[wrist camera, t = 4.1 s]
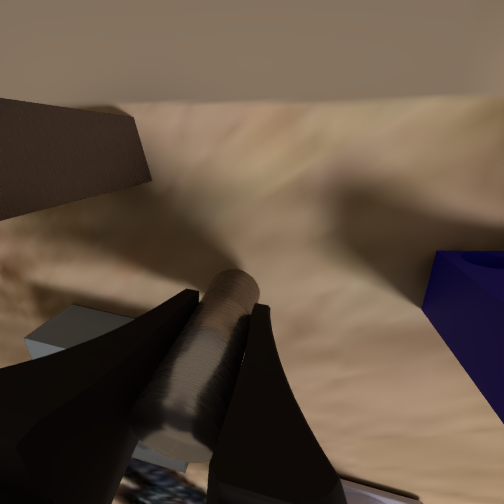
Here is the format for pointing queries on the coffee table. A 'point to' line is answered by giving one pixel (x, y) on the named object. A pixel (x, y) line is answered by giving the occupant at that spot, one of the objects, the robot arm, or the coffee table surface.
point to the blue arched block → (471, 315)
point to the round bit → (198, 374)
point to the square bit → (64, 156)
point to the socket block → (78, 331)
